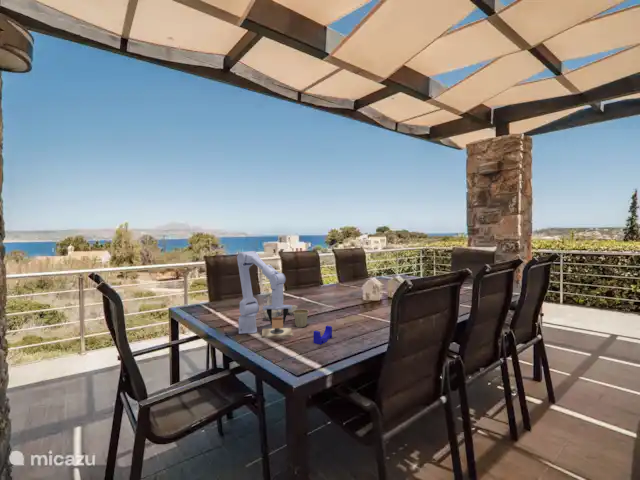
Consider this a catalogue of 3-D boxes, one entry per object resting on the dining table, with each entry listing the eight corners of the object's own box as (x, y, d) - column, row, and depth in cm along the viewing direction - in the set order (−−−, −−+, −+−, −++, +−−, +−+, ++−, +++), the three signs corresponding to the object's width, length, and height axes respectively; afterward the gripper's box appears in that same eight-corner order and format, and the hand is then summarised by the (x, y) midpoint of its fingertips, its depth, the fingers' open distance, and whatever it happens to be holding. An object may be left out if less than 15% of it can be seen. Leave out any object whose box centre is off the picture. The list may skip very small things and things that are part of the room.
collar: (271, 328, 164) (271, 320, 164) (271, 325, 170) (271, 317, 170) (283, 328, 165) (283, 320, 165) (282, 324, 170) (282, 317, 170)
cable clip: (320, 345, 161) (320, 333, 161) (313, 343, 164) (313, 331, 164) (334, 338, 171) (334, 327, 171) (327, 336, 174) (327, 325, 173)
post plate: (261, 338, 171) (261, 327, 170) (262, 330, 182) (262, 320, 182) (292, 336, 173) (292, 326, 173) (291, 329, 185) (291, 319, 185)
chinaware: (270, 325, 197) (272, 298, 196) (252, 317, 207) (253, 292, 206) (301, 315, 220) (303, 291, 218) (283, 309, 230) (284, 286, 228)
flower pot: (294, 329, 186) (294, 313, 185) (291, 324, 195) (291, 309, 195) (310, 327, 188) (310, 312, 188) (306, 322, 197) (306, 308, 197)
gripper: (262, 299, 162) (262, 326, 162) (292, 298, 164) (292, 325, 164) (263, 296, 169) (263, 322, 169) (291, 295, 171) (291, 321, 171)
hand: (277, 323), depth 167 cm, fingers closed on collar, 6 cm apart
